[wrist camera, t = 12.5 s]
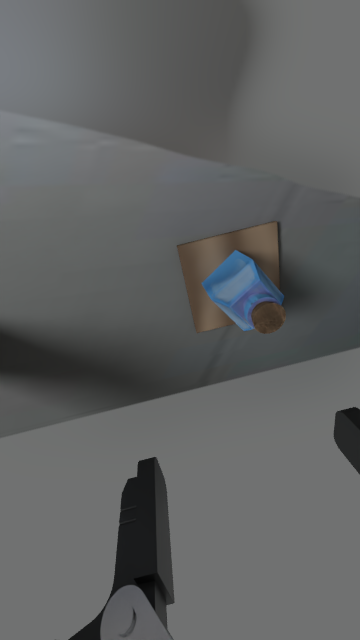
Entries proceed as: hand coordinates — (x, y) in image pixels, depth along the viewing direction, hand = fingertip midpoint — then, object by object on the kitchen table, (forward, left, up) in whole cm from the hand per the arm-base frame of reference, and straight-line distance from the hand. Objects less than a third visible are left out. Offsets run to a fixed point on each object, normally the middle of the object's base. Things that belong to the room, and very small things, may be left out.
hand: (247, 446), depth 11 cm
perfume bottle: (+6, -2, -25) cm, 26 cm away
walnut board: (+7, -2, -26) cm, 27 cm away
